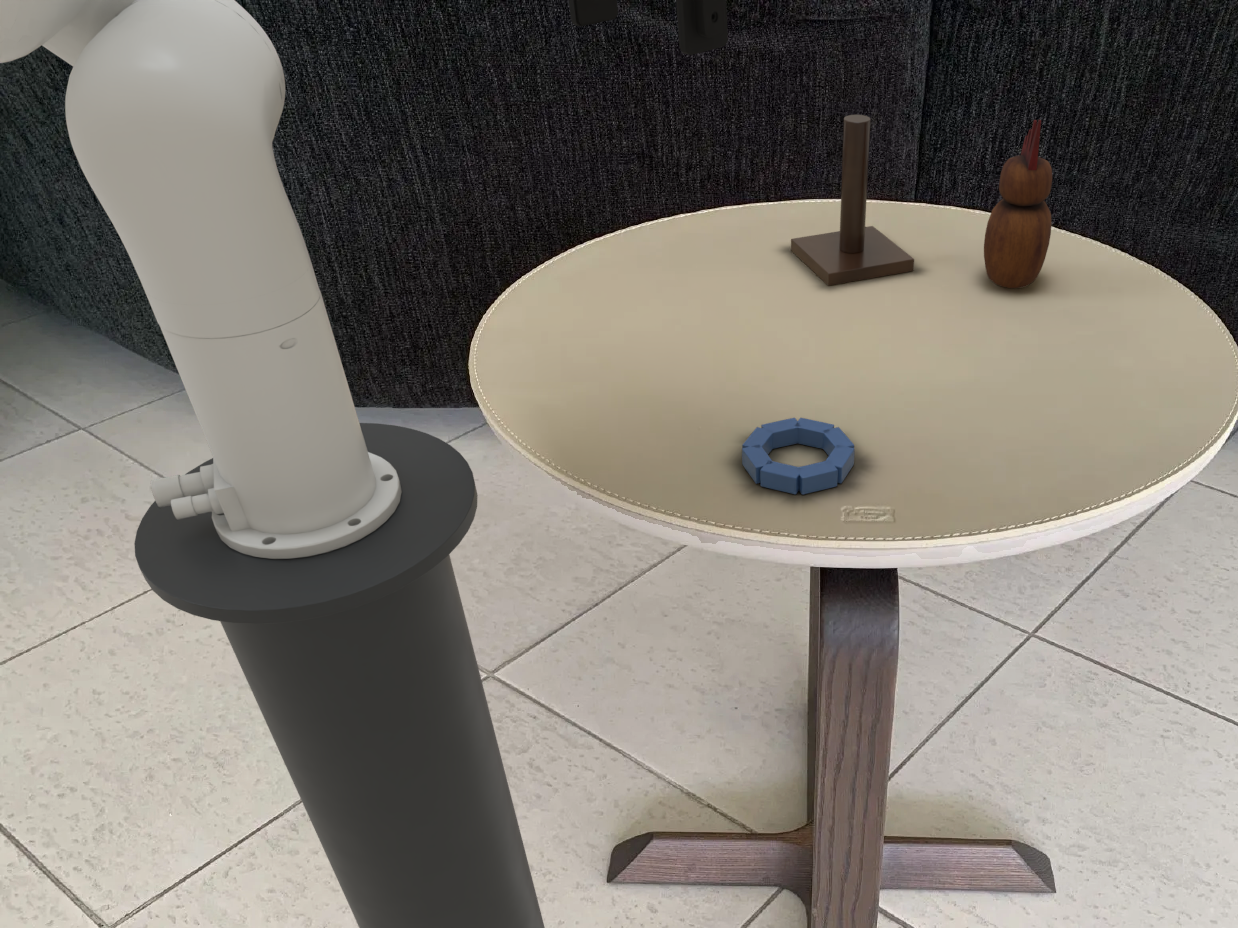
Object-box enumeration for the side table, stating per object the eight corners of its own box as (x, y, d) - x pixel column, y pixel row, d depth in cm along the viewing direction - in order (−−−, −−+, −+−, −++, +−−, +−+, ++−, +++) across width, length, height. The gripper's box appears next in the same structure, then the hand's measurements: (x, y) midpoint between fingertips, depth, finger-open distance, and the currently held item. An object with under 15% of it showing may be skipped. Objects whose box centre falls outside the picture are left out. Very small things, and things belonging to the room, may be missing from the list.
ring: (769, 503, 73) (769, 486, 72) (730, 447, 78) (729, 431, 78) (869, 479, 75) (870, 462, 75) (824, 426, 81) (824, 410, 80)
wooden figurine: (1035, 300, 98) (1062, 128, 88) (973, 290, 99) (993, 120, 90) (1047, 271, 103) (1075, 106, 93) (988, 262, 104) (1010, 99, 95)
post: (828, 286, 100) (832, 139, 91) (790, 250, 106) (791, 110, 98) (913, 271, 103) (925, 127, 94) (872, 237, 109) (879, 99, 100)
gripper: (448, -351, 54) (508, 23, 65) (676, -360, 45) (701, 76, 56) (566, -349, 58) (604, 2, 70) (797, -357, 49) (798, 48, 60)
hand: (647, 35), depth 63 cm, fingers open, 9 cm apart
